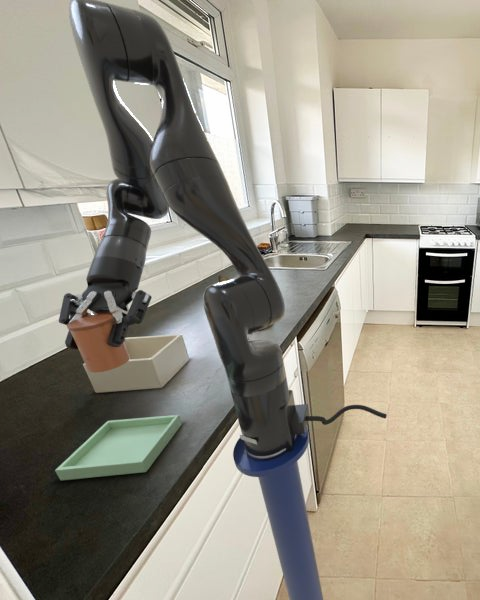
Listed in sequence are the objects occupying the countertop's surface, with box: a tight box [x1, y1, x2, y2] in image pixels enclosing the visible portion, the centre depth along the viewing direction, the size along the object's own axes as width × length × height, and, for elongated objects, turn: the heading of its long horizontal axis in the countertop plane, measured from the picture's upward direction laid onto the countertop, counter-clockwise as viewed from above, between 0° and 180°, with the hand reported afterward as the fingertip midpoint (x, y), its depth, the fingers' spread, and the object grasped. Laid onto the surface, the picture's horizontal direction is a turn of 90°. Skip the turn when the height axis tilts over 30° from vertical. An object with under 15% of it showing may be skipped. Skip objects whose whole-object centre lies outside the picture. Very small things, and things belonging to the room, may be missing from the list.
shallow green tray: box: [54, 414, 183, 481], centre depth 56 cm, size 13×11×2 cm
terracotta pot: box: [66, 313, 130, 373], centre depth 57 cm, size 6×6×9 cm
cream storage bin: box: [82, 333, 190, 394], centre depth 78 cm, size 15×13×8 cm
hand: (93, 346), depth 55 cm, fingers closed on terracotta pot, 6 cm apart
